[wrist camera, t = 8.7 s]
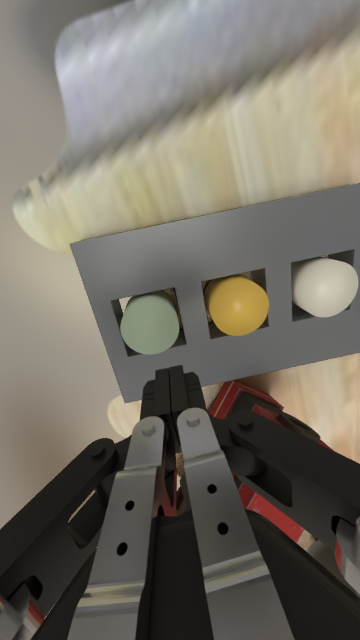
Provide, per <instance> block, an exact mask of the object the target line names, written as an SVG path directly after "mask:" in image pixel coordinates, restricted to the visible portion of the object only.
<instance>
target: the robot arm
mask: <svg viewBox="0 0 360 640" xmlns="http://www.w3.org/2000/svg"><path fill="white" fill-rule="evenodd" d="M180 445H181V449H182V453H183V458H184V461H183V463H184V469H185V475H186V480H187V486H188V492H189V497H190V503H191V508H192V509H191V510H189V511H187V512H185V513H183V514H181V515H179V516H176V489H177V468H176V456H175V453H179V452H181V449H180ZM232 474H236V475H237V477H238V478H239V480H240V481H242V482H243V483H244V484H245V485H247V486H248V487H249V488H251V489H252V490H253V491H255V492H256V493H257V494H259V495H260V496H261V497H263V498H264V499H265V500H267V501H268V502H269V503H271V504H272V505H273V506H275V507H276V508H277V509H279V510H280V511H281V512H283V513H284V514H285V515H286V516H288V517H289V518H290V519H292V520H293V521H294V522H296V523H297V524H298V525H300V526H301V527H302V528H304V529H305V530H306V531H308V532H309V533H310V534H312V535H313V536H314V537H316V538H317V539H318V540H320V541H321V542H322V543H324V544H325V545H326V546H328V547H329V548H330V549H331V550H333V551H334V552H335V559H336V563H337V565H338V568H339V570H340V572H341V573H342V575H343V576H344V578H345V579H346V581H347V582H348V583H349V584H350V585H351V586H352V587H353V588H354V589H355V590H356V591H357V592H358V593H359V594H360V464H359V463H357V462H355V461H353V460H351V459H349V458H347V457H345V456H343V455H341V454H339V453H337V452H335V451H333V450H330V449H328V448H326V447H324V446H322V445H320V444H318V443H316V442H314V441H312V440H310V439H308V438H306V437H304V436H302V435H300V434H298V433H296V432H294V431H292V430H290V429H288V428H286V427H284V426H282V425H280V424H278V423H276V422H274V421H272V420H269V419H267V418H265V417H263V416H261V415H259V414H257V413H255V412H253V411H249V410H241V411H237V412H235V413H233V414H232V415H231V416H230V418H229V419H219V418H216V417H213V416H212V415H210V414H209V413H208V411H207V409H206V405H205V401H204V397H203V393H202V389H201V385H200V381H199V377H198V375H196V374H195V373H194V372H189V373H184V370H183V366H182V365H178V366H173V367H169V368H163V369H158V370H155V380H150V381H147V383H146V384H145V386H144V387H143V396H142V404H141V414H140V421H139V422H138V423H137V424H136V425H135V427H134V429H133V432H132V435H131V436H129V437H128V438H126V439H124V440H122V441H120V442H118V443H116V444H114V442H113V440H111V439H108V438H102V439H98V440H96V441H94V442H92V443H91V444H90V445H88V446H87V447H86V448H85V449H84V450H83V451H82V452H81V453H80V454H79V455H78V456H77V457H76V458H75V459H74V460H73V461H72V462H70V464H68V465H67V466H66V467H65V468H64V469H63V470H62V471H61V472H60V473H59V474H58V475H57V476H56V477H55V478H54V479H53V480H52V481H51V482H49V483H48V484H47V485H46V486H45V487H44V488H43V489H42V490H41V491H40V492H39V493H38V494H37V495H36V496H35V497H34V498H33V499H32V500H31V501H30V502H29V503H28V504H26V505H25V506H24V507H23V508H22V509H21V510H20V511H19V512H18V513H17V514H16V515H15V516H14V517H13V518H12V519H11V520H10V521H9V522H8V523H6V524H5V525H4V527H2V528H1V529H0V640H360V598H359V597H358V596H357V595H356V594H355V593H354V592H352V591H351V590H350V589H349V588H348V587H347V586H345V585H344V584H343V583H342V582H341V581H340V580H339V579H337V578H336V577H335V576H334V575H333V574H331V573H330V572H329V571H328V570H327V569H326V568H325V567H323V566H322V565H321V564H320V563H319V562H318V561H316V560H315V559H314V558H313V557H312V556H310V555H309V554H308V553H307V552H306V551H305V550H304V549H303V548H301V547H300V546H299V545H298V544H297V543H296V542H295V541H293V540H292V539H291V538H290V537H289V536H288V535H286V534H285V533H284V532H283V531H282V530H281V529H279V528H278V527H277V526H276V525H275V524H274V523H272V522H271V521H270V520H269V519H267V518H266V517H264V516H263V515H261V514H259V513H257V512H255V511H252V510H249V509H245V508H244V506H243V504H242V501H241V498H240V495H239V493H238V490H237V487H236V484H235V482H234V479H233V476H232ZM93 490H95V493H94V494H93V495H92V496H91V497H90V499H89V500H88V501H87V502H86V503H85V504H84V506H83V507H82V508H81V509H80V510H79V511H78V513H77V514H76V515H75V516H74V517H73V518H72V519H71V520H70V522H69V523H68V521H69V519H70V517H71V515H72V514H73V513H74V512H75V511H76V510H77V508H78V507H79V506H80V505H81V504H82V503H83V502H84V501H85V499H86V498H87V497H88V496H89V495H90V494H91V492H92V491H93ZM96 547H97V548H96ZM60 596H61V597H60ZM57 600H58V601H57ZM55 603H56V604H55ZM54 604H55V605H54ZM53 606H54V607H53ZM52 607H53V608H52ZM51 608H52V609H51ZM50 610H51V611H50ZM49 611H50V612H49ZM48 613H49V614H48ZM47 614H48V615H47ZM46 615H47V617H46ZM45 617H46V618H45ZM44 618H45V619H44Z"/></svg>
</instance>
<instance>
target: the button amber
mask: <svg viewBox="0 0 360 640" xmlns="http://www.w3.org/2000/svg"><path fill="white" fill-rule="evenodd" d="M204 303H205V307H206V309H207V310H208V312H209V314H210V316H211V317H212V319H213V321H214V323H215V324H216V326H217V327H218V328H219V329H220V330H221V331H222V332H224V333H226V334H228V335H232V336H242V335H246V334H249V333H251V332H253V331H255V330H256V329H257V328H258V327H260V326H261V324H262V323H263V322H264V320H265V319H266V316H267V314H268V310H269V300H268V297H267V294H266V293H265V291H264V290H263V289H262V288H261V287H260V286H259V285H257V284H256V283H254V282H253V281H251V280H249V279H248V278H246V277H245V276H243V275H241V274H234V275H229V276H225V277H220V278H215V279H212V280H211V281H210V282H209V284H208V285H207V287H206V289H205V292H204Z"/></svg>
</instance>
